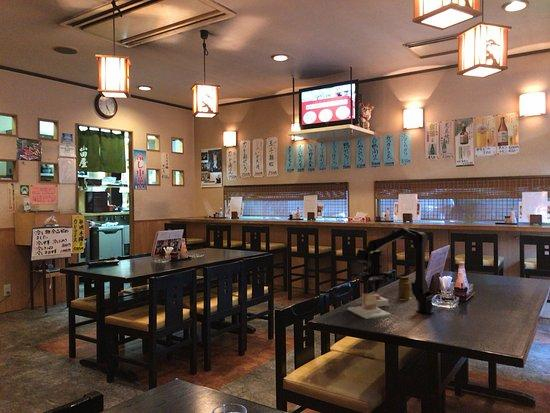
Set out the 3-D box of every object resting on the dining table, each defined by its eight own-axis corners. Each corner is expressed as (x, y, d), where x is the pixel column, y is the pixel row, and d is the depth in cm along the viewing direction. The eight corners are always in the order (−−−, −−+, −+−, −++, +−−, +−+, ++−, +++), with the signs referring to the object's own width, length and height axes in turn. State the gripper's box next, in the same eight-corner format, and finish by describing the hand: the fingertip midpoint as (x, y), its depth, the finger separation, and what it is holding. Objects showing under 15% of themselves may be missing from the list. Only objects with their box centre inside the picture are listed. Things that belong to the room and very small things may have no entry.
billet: (376, 311, 214) (375, 295, 214) (367, 312, 213) (367, 296, 213) (370, 309, 219) (370, 293, 219) (362, 309, 218) (361, 294, 217)
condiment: (412, 298, 246) (412, 277, 245) (402, 300, 241) (402, 279, 241) (402, 296, 252) (402, 275, 251) (392, 298, 247) (392, 277, 247)
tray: (391, 316, 209) (391, 310, 209) (365, 318, 205) (365, 313, 205) (371, 307, 227) (371, 302, 226) (347, 309, 222) (347, 304, 222)
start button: (381, 301, 231) (381, 295, 231) (373, 302, 230) (373, 296, 230) (376, 299, 236) (376, 293, 236) (369, 300, 234) (369, 294, 234)
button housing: (388, 305, 230) (388, 299, 230) (371, 307, 227) (371, 301, 226) (378, 301, 239) (378, 295, 239) (362, 302, 236) (362, 297, 236)
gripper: (382, 260, 243) (382, 287, 243) (352, 262, 237) (352, 290, 237) (393, 262, 232) (393, 291, 233) (362, 264, 227) (362, 294, 227)
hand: (375, 292), depth 233 cm, fingers closed
